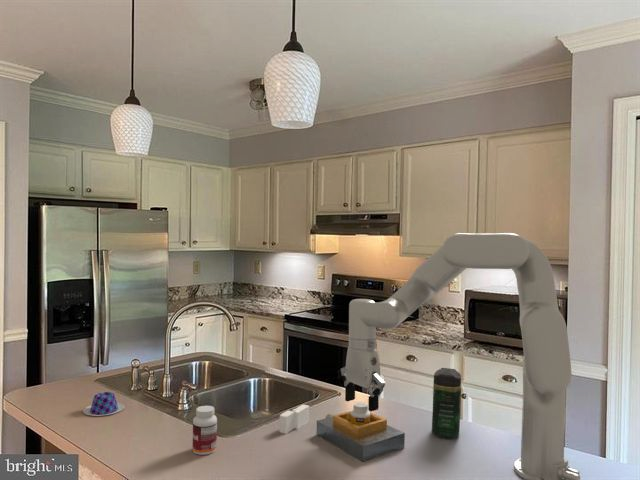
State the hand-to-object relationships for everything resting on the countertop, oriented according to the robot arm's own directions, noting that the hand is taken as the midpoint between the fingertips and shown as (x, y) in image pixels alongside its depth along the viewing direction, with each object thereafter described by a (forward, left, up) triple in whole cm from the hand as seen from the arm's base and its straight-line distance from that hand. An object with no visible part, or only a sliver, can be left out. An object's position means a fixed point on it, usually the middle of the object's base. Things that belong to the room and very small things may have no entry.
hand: (361, 405), depth 133 cm
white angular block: (+19, +10, -11) cm, 24 cm away
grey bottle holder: (+2, 0, -10) cm, 10 cm away
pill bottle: (+18, +38, -10) cm, 44 cm away
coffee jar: (-10, -25, -10) cm, 29 cm away
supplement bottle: (0, 0, -10) cm, 10 cm away
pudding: (+62, +53, -11) cm, 83 cm away
